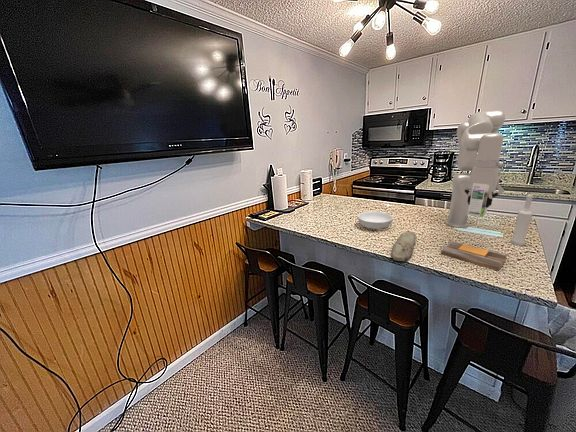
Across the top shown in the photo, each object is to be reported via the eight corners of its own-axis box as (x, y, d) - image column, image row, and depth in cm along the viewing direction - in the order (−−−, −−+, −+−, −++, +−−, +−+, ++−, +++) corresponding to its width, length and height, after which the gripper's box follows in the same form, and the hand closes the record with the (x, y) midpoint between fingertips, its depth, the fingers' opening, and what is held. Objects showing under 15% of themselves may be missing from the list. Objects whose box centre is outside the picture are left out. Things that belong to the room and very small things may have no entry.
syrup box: (467, 214, 111) (472, 182, 107) (471, 211, 115) (477, 180, 111) (482, 217, 107) (489, 184, 103) (486, 214, 111) (493, 182, 106)
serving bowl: (350, 225, 161) (350, 215, 159) (374, 218, 170) (374, 209, 168) (374, 235, 144) (375, 224, 142) (399, 227, 152) (400, 217, 150)
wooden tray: (450, 246, 126) (451, 239, 125) (505, 260, 110) (507, 253, 108) (440, 254, 119) (441, 247, 118) (498, 271, 102) (500, 263, 101)
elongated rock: (419, 239, 139) (399, 237, 144) (419, 230, 137) (400, 228, 143) (410, 264, 110) (387, 260, 116) (411, 253, 109) (387, 250, 114)
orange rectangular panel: (462, 245, 119) (463, 244, 119) (488, 252, 111) (489, 250, 111) (457, 250, 115) (458, 248, 115) (484, 257, 107) (484, 255, 107)
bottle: (510, 243, 125) (522, 196, 117) (511, 240, 128) (523, 193, 120) (523, 246, 121) (537, 197, 113) (524, 243, 124) (537, 195, 116)
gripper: (515, 164, 100) (505, 207, 106) (465, 162, 113) (459, 200, 118) (511, 166, 96) (501, 211, 101) (460, 164, 108) (453, 204, 114)
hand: (478, 205), depth 110 cm, fingers closed on syrup box, 5 cm apart
